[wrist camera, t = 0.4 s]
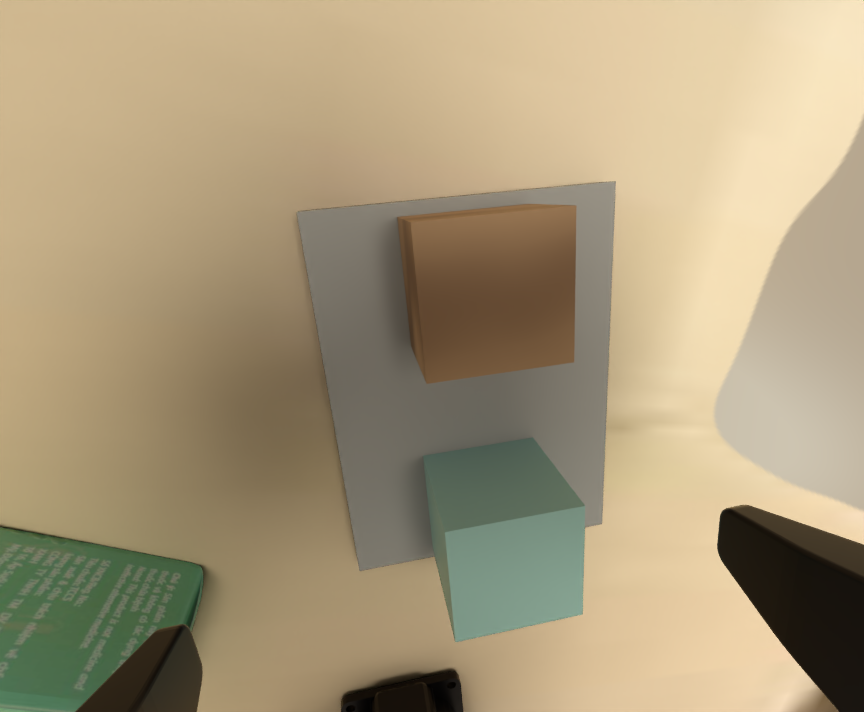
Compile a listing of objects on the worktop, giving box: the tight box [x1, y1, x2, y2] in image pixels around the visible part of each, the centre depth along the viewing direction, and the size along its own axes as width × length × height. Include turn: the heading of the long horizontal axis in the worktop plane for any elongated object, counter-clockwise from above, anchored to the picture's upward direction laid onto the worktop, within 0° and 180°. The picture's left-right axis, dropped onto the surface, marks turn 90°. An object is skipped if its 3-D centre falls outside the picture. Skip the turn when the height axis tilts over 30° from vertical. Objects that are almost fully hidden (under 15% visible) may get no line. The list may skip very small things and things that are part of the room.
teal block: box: [423, 437, 585, 642], centre depth 19 cm, size 5×5×5 cm
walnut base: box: [397, 204, 577, 384], centre depth 16 cm, size 5×5×4 cm
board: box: [297, 181, 616, 571], centre depth 20 cm, size 16×12×1 cm
